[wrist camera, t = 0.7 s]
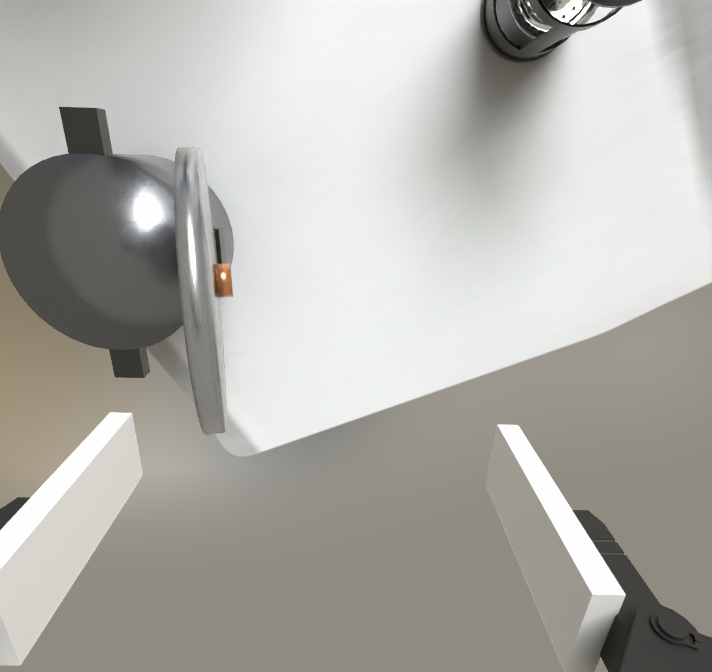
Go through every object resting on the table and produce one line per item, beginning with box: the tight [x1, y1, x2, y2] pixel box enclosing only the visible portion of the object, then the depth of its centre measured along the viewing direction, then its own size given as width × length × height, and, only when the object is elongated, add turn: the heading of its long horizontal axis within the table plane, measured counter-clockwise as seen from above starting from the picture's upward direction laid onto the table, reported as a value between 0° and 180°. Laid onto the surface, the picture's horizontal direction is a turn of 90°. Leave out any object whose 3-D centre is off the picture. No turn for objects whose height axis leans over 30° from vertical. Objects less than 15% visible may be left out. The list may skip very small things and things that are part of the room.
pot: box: [0, 107, 234, 378], centre depth 45 cm, size 25×20×12 cm
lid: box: [174, 147, 233, 435], centre depth 31 cm, size 19×20×2 cm
